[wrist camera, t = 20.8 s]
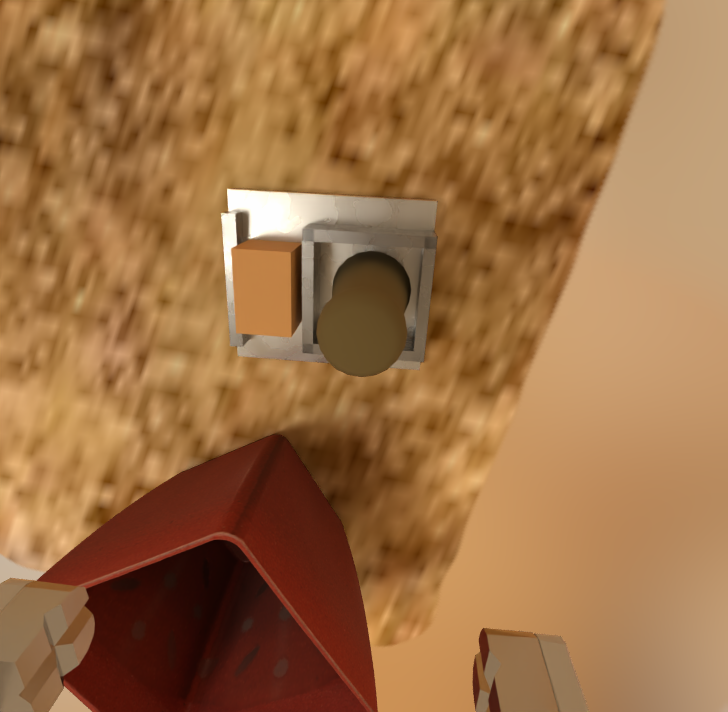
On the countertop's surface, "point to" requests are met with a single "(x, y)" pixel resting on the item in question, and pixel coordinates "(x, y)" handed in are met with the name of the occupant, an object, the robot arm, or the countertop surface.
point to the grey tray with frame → (333, 257)
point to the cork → (365, 315)
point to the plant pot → (224, 596)
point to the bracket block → (267, 287)
